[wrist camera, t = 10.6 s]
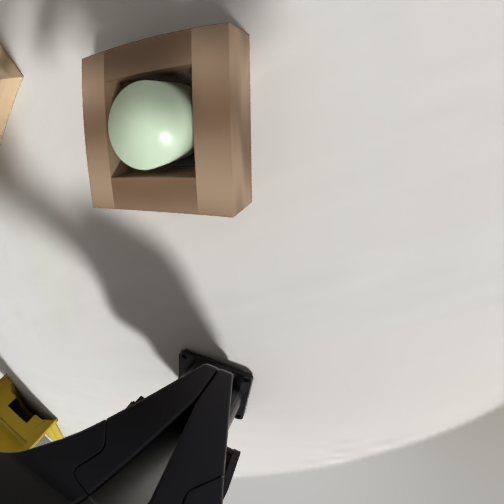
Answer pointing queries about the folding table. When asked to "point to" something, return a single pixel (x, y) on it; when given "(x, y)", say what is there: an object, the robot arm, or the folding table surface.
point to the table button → (152, 123)
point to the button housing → (204, 123)
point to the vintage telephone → (21, 422)
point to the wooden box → (7, 87)
